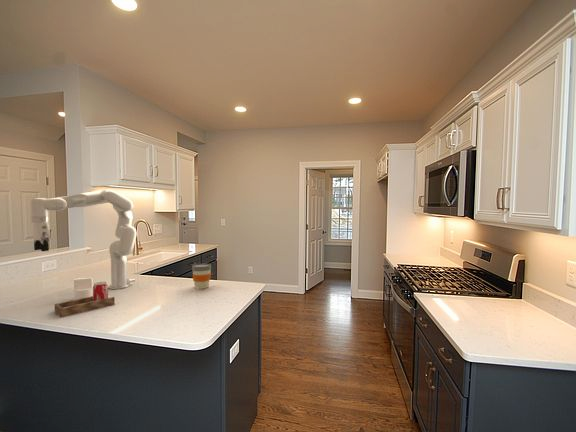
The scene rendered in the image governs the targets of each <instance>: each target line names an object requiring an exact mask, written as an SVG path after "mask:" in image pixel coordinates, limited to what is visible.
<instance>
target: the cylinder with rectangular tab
mask: <svg viewBox="0 0 576 432" xmlns="http://www.w3.org/2000/svg"><path fill="white" fill-rule="evenodd" d="M93 279H94V277H93V276H92V277H81V278H79V277H78V278H74V279H73V293H74V294H73V295H74V299H73V300H76V299H81V298H86V297H91V296H93V286H94V282H93Z"/></svg>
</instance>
